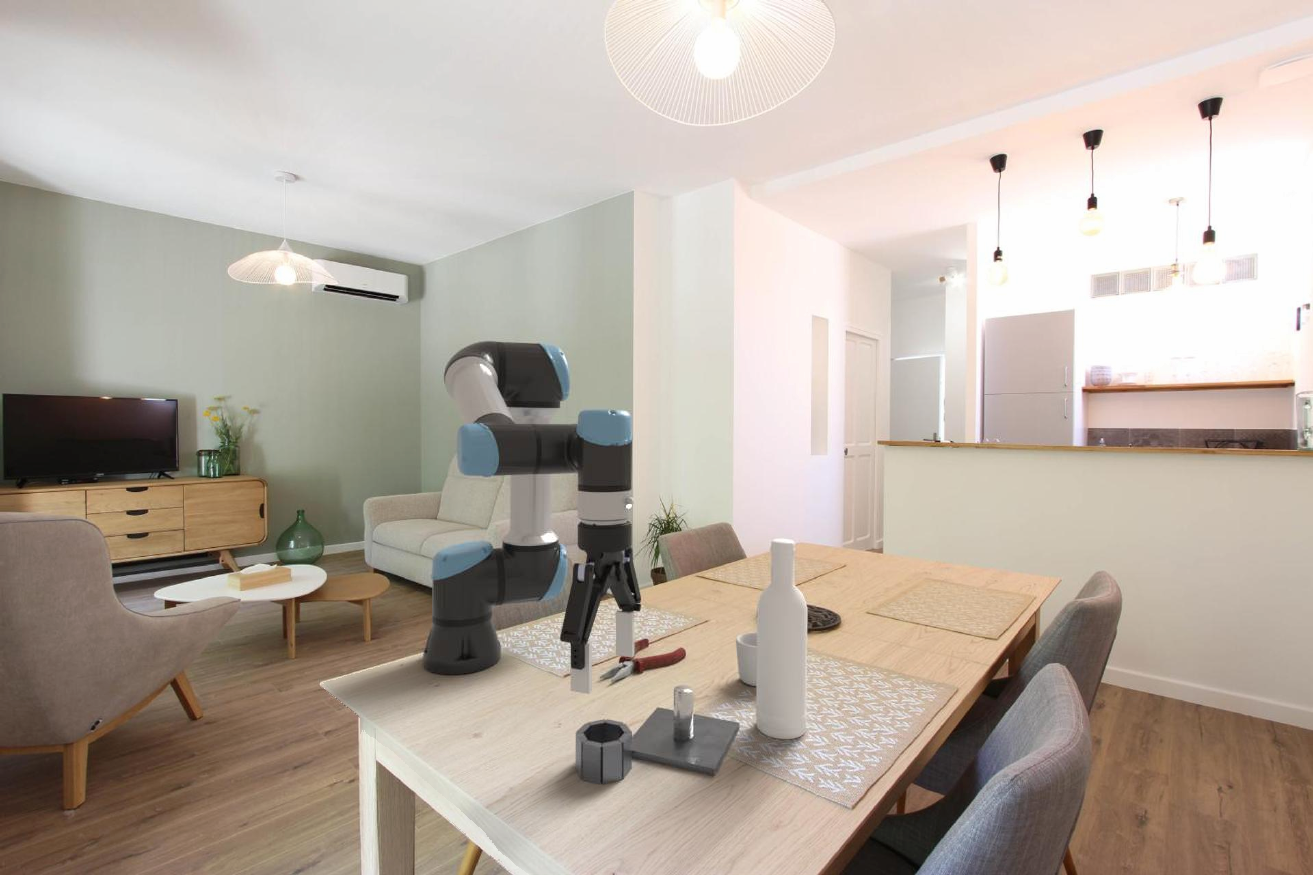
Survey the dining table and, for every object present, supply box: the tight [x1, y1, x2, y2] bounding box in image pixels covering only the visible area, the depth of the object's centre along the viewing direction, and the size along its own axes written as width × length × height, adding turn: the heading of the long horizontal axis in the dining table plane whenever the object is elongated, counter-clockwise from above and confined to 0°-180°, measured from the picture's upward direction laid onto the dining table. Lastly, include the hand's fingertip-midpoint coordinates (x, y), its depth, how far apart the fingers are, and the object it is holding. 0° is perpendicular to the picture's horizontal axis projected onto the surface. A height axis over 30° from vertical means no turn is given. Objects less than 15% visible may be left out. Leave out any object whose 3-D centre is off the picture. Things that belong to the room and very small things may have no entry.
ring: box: [575, 718, 633, 785], centre depth 87 cm, size 7×7×5 cm
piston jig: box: [632, 684, 741, 777], centre depth 94 cm, size 14×14×8 cm
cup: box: [735, 631, 757, 687], centre depth 115 cm, size 11×8×8 cm
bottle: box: [755, 538, 808, 740], centre depth 98 cm, size 8×8×30 cm
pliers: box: [599, 638, 687, 683], centre depth 123 cm, size 12×20×3 cm, turn 145°
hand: (604, 672), depth 86 cm, fingers open, 13 cm apart
